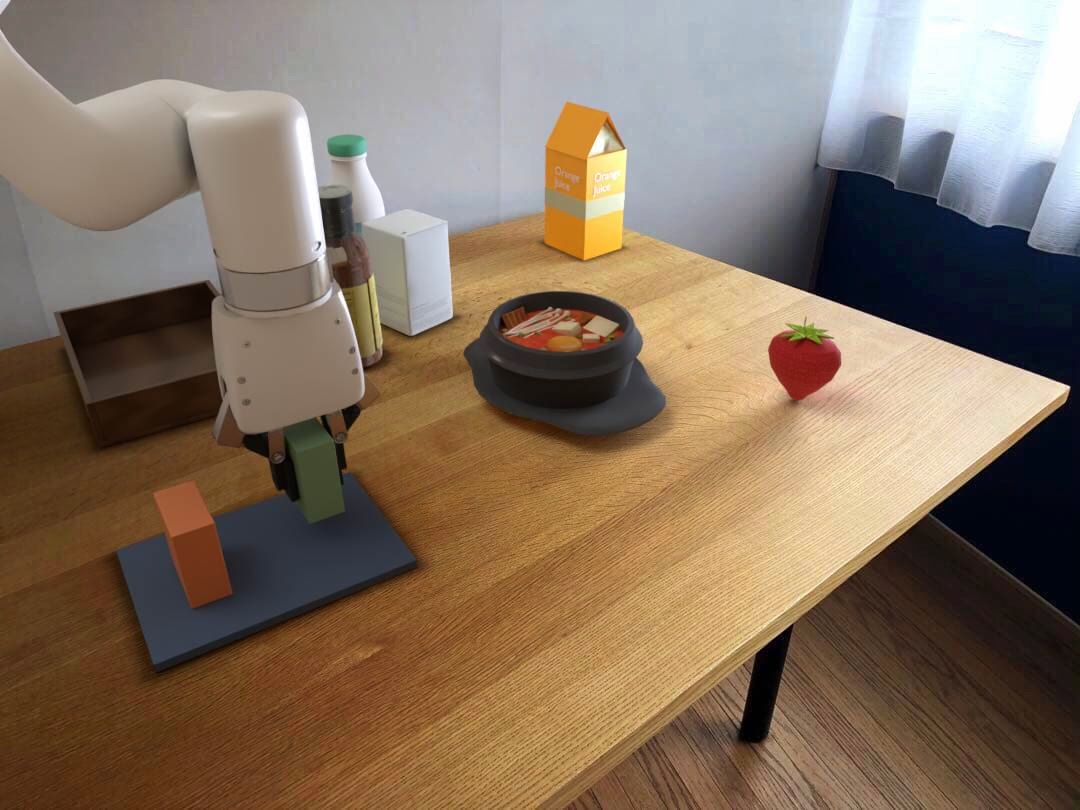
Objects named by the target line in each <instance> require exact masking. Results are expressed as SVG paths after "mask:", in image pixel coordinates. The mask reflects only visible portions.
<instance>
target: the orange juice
mask: <svg viewBox="0 0 1080 810" xmlns="http://www.w3.org/2000/svg"><path fill="white" fill-rule="evenodd" d="M609 113H610V112H607V111H604V110H601V109H596V108H593V107H589V106H585V105H582V104H577V103H574V102H570V101H565V104H564V106H563V108H562V110H561V112H560V114H559V116H558V118H557V120H556V123H555V125H554V127H553V129H552V131H551V133H550V135H549V136H548V139H547V141H546V143H545V146H544V147H545V155H544V156H545V161H544V162H545V166H544V171H545V172H544V173H545V175H544V177H545V178H544V181H545V182H544V244H545V245H547V246H550V247H552V248H553V249H554V248H555V249H557V250H559V251H561V252H563V253H566V254H568V255H571V256H573V257H574V258H577V259H580V260H582V261H586V260H589V259H593V258H596V257H599V256H602V255H605V254H608V253H610V252H613V251H617V250H620V249H622V240H623V224H624V209H625V197H626V189H625V188H626V187H625V186H626V172H627V152H628V149H627V148H626V147H625V145H624V142H623V140H622V138H621V137H620V135H619V132H618V131H617V129H616V126H615V124H614V122H613V120H612V118H611V116H610V115H609Z"/></svg>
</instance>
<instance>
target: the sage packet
mask: <svg viewBox="0 0 1080 810" xmlns="http://www.w3.org/2000/svg"><path fill="white" fill-rule="evenodd" d="M284 439H285V448H286V450H287V453H288V455H289V456H290V458H291V459H292V461H293V464H294V469H295V474H296V480H297V485H298V490H299V495H300V498H299V500H298V501H295V502H296V504H297V505H298V507H299V508H300V510H301V511H302V513H303V515H304V516H305V518H306V519H307V521H308V523H309V524H312V523H314V522H317V521H320V520H323V519H325V518H328V517H331V516H334V515H336V514H339V513H342V512H345V509H344V502H343V496H342V489H341V483H340V477H339V470H338V464H337V457H336V451H335V444H334V440H333V439H332V438H331V436H330V435H329V434H328V432H327V431H326V430H325V428H324V427H323V426H322V424H321V421H320V420H319V419H318V417H315V418H312V419H309V420H305V421H302V422H299V423H295V424H292V425H289V426H285V427H284Z"/></svg>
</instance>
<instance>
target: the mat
mask: <svg viewBox="0 0 1080 810" xmlns="http://www.w3.org/2000/svg"><path fill="white" fill-rule="evenodd" d="M342 475H343V481H344V485H341V489H342V496H343V502H344V509H345V512H342V513H339V514H336V515H334V516H331V517H328V518H325V519H323V520H320V521H317V522H314V523H312V524H309V523H308V521H307V519H306V518H305V516H304V515H303V513H302V511H301V510H300V508H299V507H298V505H297V504H296V502H291V500H290V498H289V497H288V495H287V494H286V492H285V493H282V494H279V495H276V496H274V497H270V498H267V499H265V500H262V501H261V500H260V501H258V502H256V503H253V504H249V505H246V506H244V507H240V508H238V509H235V510H232V511H229V512H226V513H223V514H220V515H216V516H214V517H212V518H213V520H214V523H215V526H216V530H217V534H218V538H219V542H220V546H221V550H222V554H223V558H224V562H225V566H226V570H227V574H228V578H229V582H230V586H231V590H232V594H231V595H229V596H226V597H223V598H221V599H218V600H215V601H213V602H210V603H207V604H205V605H202V606H200V607H197V608H194V609H192V608H191V606H190V603H189V601H188V598H187V596H186V593H185V591H184V588H183V585H182V583H181V580H180V578H179V575H178V573H177V570H176V568H175V565H174V563H173V559H172V556H171V553H170V549H169V546H168V542H167V539H166V536H165V533H163V534H160V535H156V536H154V537H151V538H148V539H145V540H142V541H138V542H136V543H133V544H130V545H127V546H124V547H121V548H118V549H116V550H115V551H116V554H117V558H118V560H119V564H120V566H121V570H122V573H123V576H124V579H125V583H126V585H127V588H128V591H129V595H130V598H131V600H132V603H133V607H134V610H135V613H136V616H137V619H138V622H139V625H140V629H141V632H142V635H143V637H144V641H145V644H146V647H147V650H148V653H149V656H150V659H151V662H152V666H153V668H154V671H155V672H156V673H158V672H159V673H160V672H161V671H163V670H167V669H169V668H171V667H174V666H176V665H178V664H181V663H184V662H186V661H189V660H191V659H194V658H196V657H198V656H201V655H204V654H206V653H208V652H210V651H213V650H216V649H218V648H221V647H224V646H226V645H228V644H230V643H233V642H235V641H238V640H241V639H243V638H245V637H248V636H250V635H253V634H255V633H258V632H260V631H262V630H266V629H268V628H271V627H272V626H275V625H278V624H281V623H282V622H286V621H288V620H290V619H292V618H295V617H297V616H300V615H302V614H304V613H305V614H306V613H308V612H310V611H312V610H315V609H317V608H321V607H322V606H325V605H327V604H330V603H332V602H335V601H337V600H340V599H342V598H344V597H347V596H350V595H351V594H355V593H357V592H359V591H361V590H365V589H367V588H369V587H372V586H374V585H376V584H379V583H382V582H384V581H387V580H389V579H392V578H393V577H394V578H395V577H396V576H400V575H401V574H403V573H407V572H408V571H412V570H414V569H416V568H418V562H417V561H418V560H417V558H416V557H415V556H414V554H413V553H412V552H411V550H410V549H409V548H408V546H407V545H406V544H405V542H404V541H403V540H402V538H401V537H400V535H398V533H397V532H396V531H395V529H394V528H393V527H392V525H391V523H389V521H388V520H387V519H386V517H385V516H384V515H383V513H382V512H381V510H380V509H379V508H378V507H377V505H376V504H375V503H374V501H373V500H372V499H371V498H370V496H369V495H368V493H367V492H366V491H365V489H364V488H363V486H362V485H361V484H360V483H359V481H358V480H357V479H356V477H355V476H354V475H353V473H352V472H351V471H348V472H344V473H342Z"/></svg>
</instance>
